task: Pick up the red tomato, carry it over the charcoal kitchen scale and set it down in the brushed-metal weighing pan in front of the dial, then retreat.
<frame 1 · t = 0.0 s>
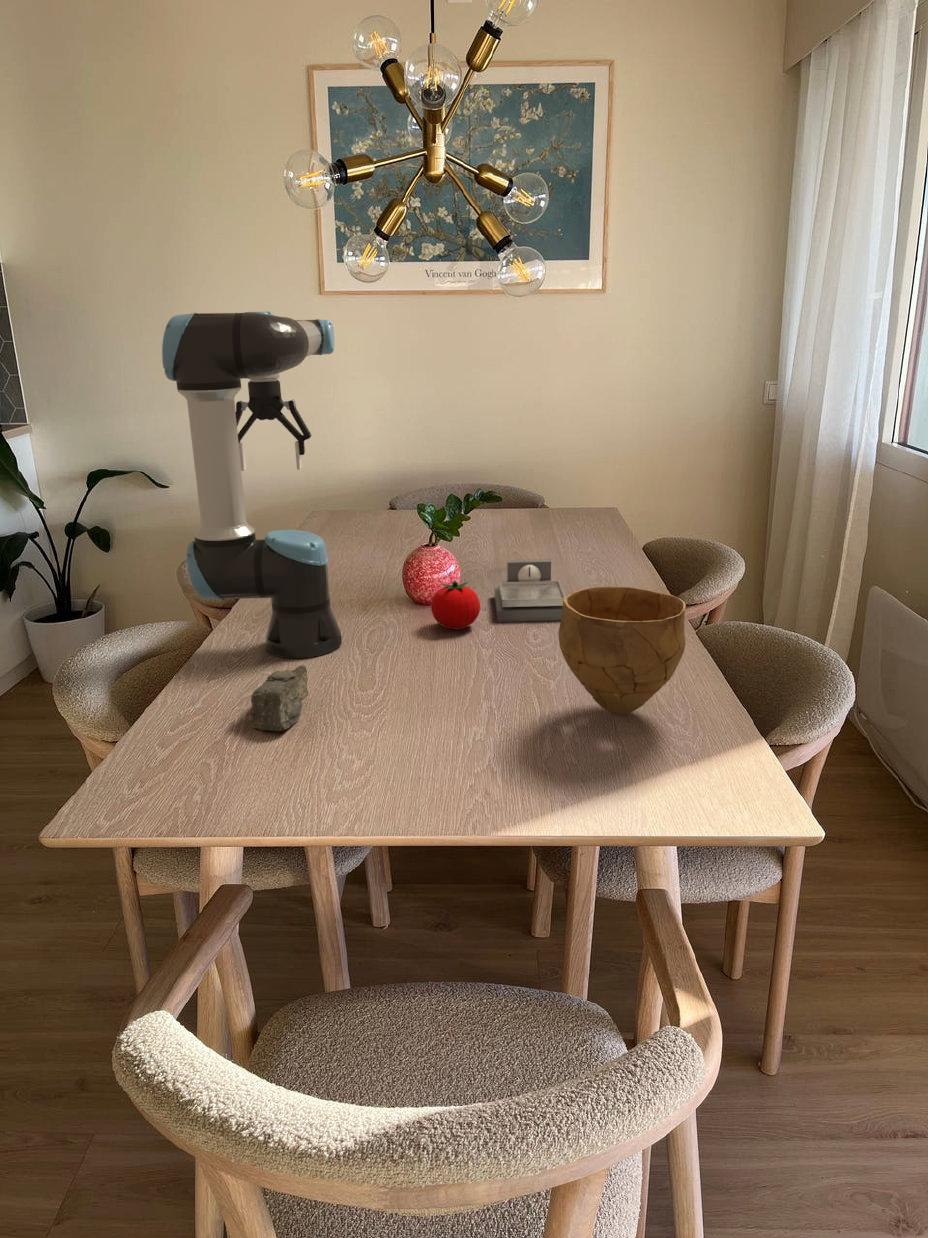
hand: (271, 469, 228), 28 cm above the table, fingers open, 13 cm apart
rock: (280, 717, 159), on the table
scale body: (531, 608, 211), on the table
bowl: (618, 715, 156), on the table
tomato: (456, 628, 199), on the table
pan: (531, 594, 208), point 4 cm above the table, slide at -0.4 cm
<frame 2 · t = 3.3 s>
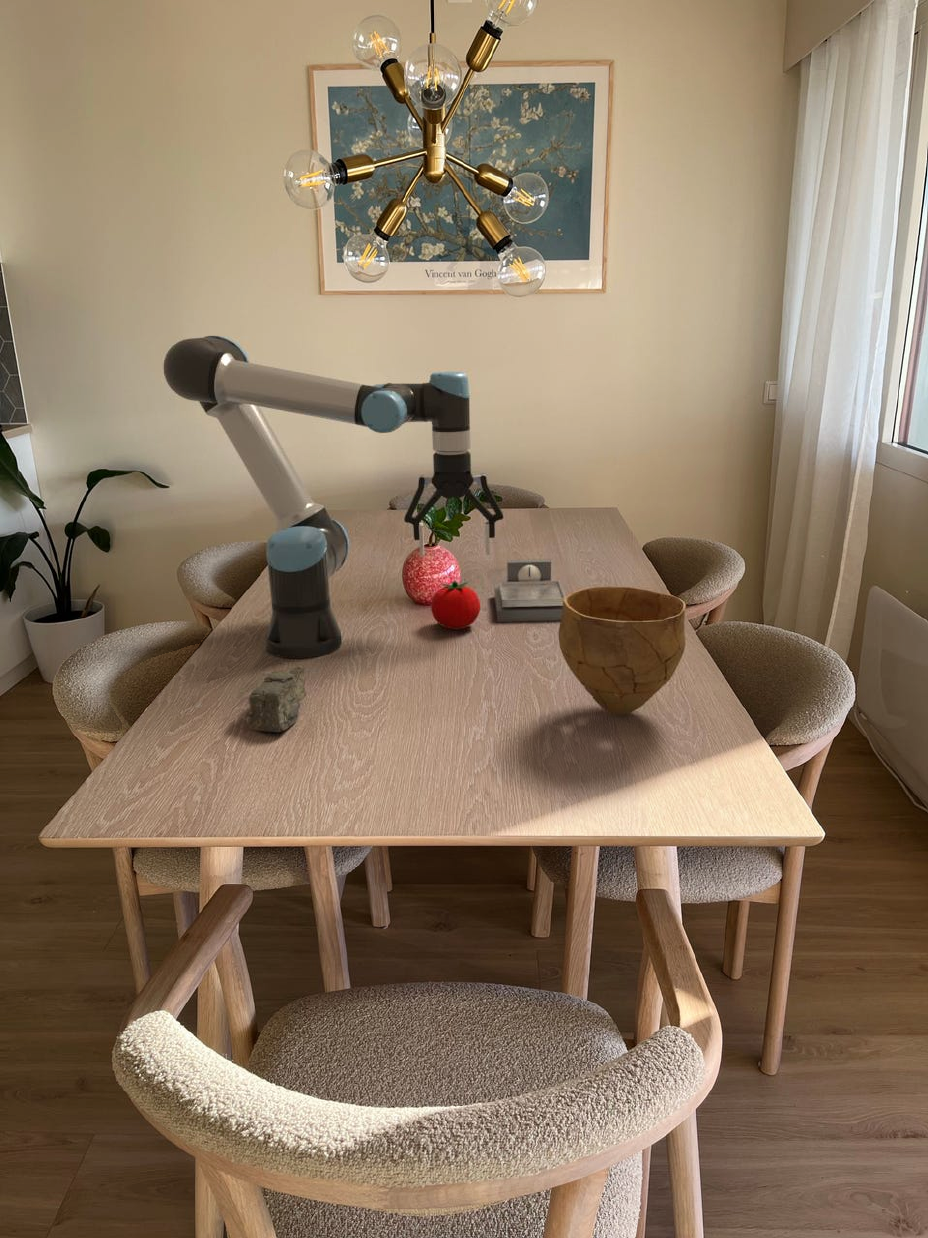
hand: (454, 554, 194), 16 cm above the table, fingers open, 13 cm apart
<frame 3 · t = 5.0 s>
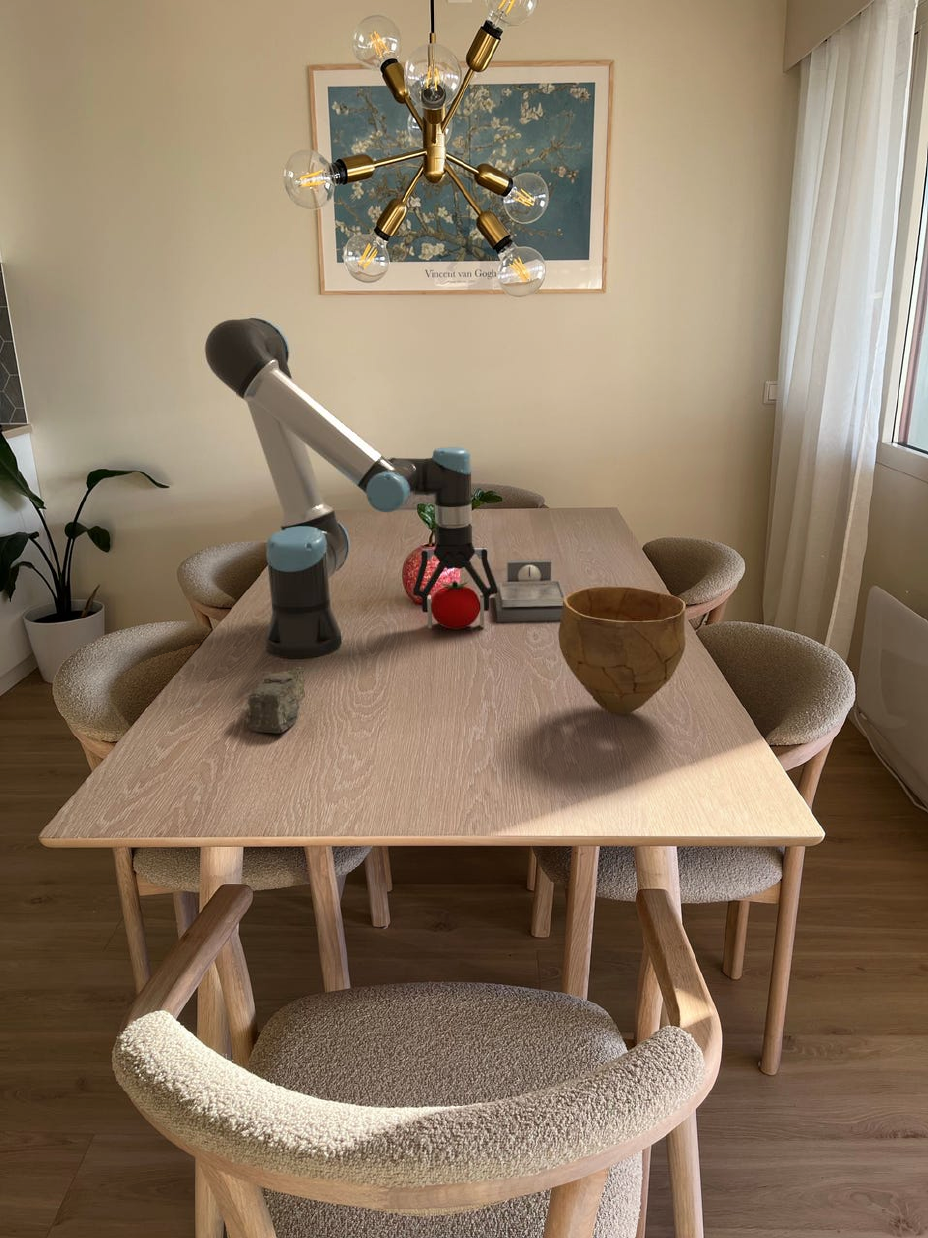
hand: (456, 625, 199), 0 cm above the table, fingers closed on tomato, 10 cm apart
tomato: (456, 628, 199), on the table, touching gripper
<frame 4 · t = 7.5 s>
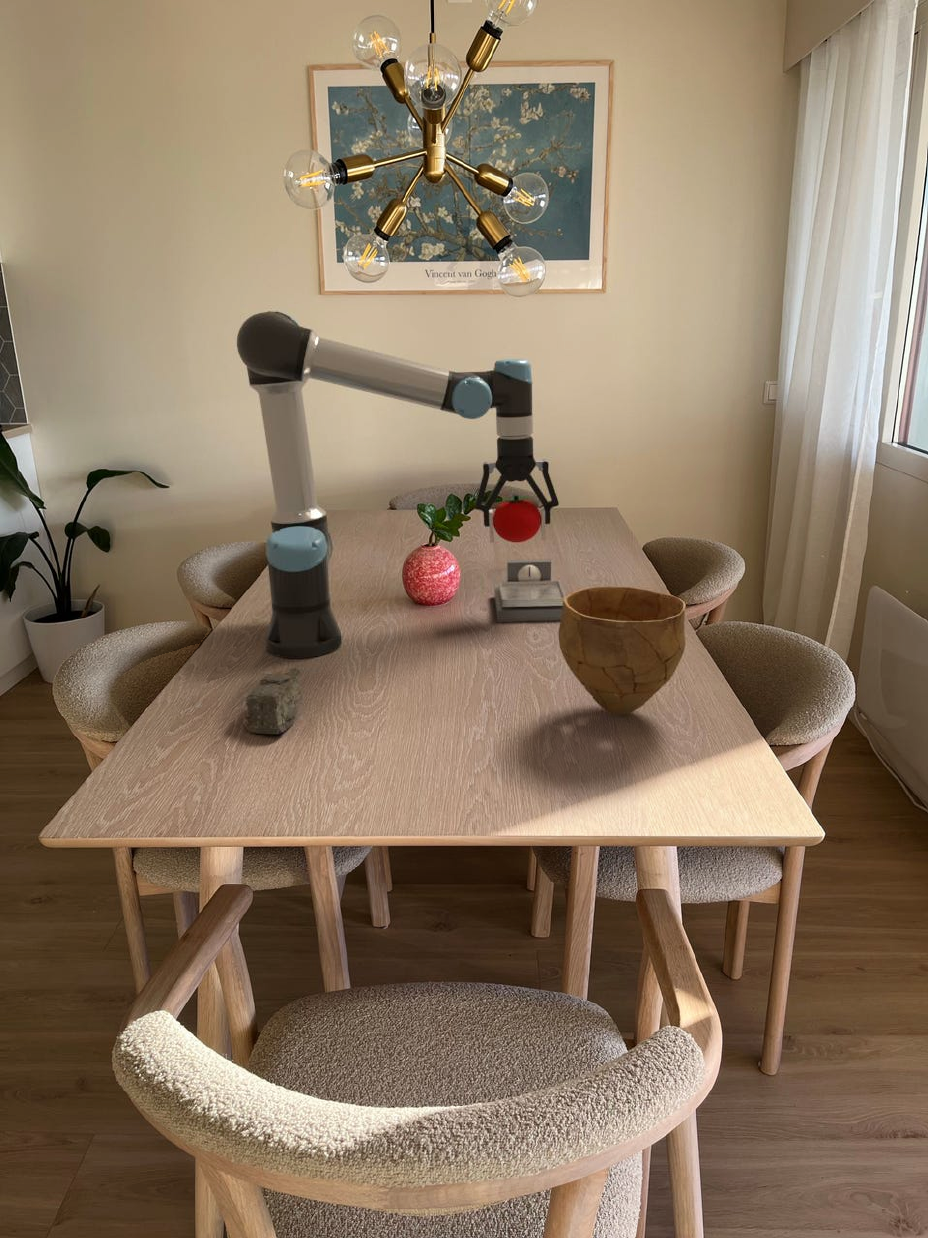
hand: (517, 539, 201), 17 cm above the table, fingers closed on tomato, 10 cm apart
tomato: (517, 542, 201), point 16 cm above the table, touching gripper
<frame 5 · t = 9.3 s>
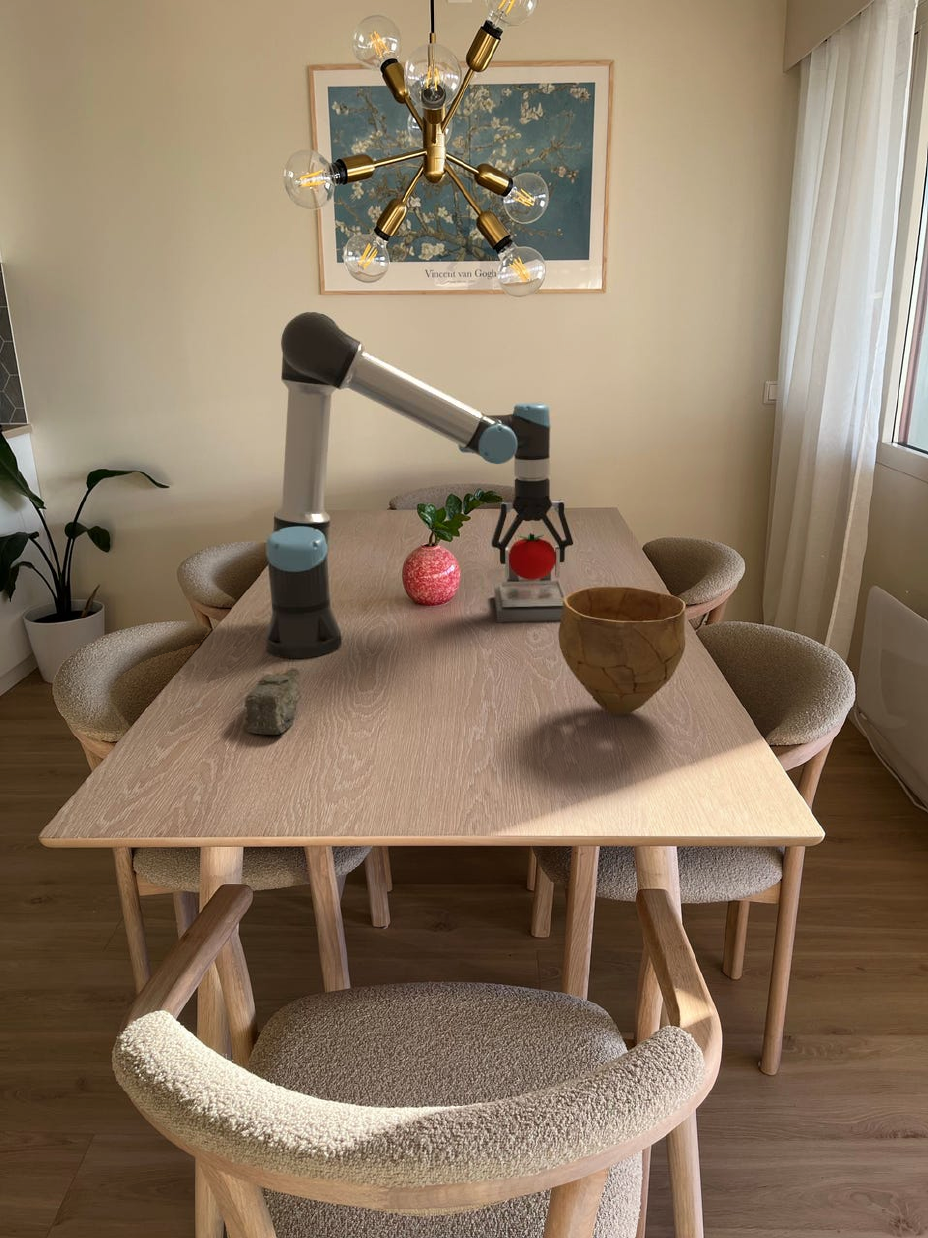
hand: (532, 577, 207), 8 cm above the table, fingers closed on tomato, 10 cm apart
tomato: (532, 579, 207), point 7 cm above the table, touching gripper
when the fingers open (7 cm above the table, at t = 10.1 s): tomato drops 2 cm, resting on pan.
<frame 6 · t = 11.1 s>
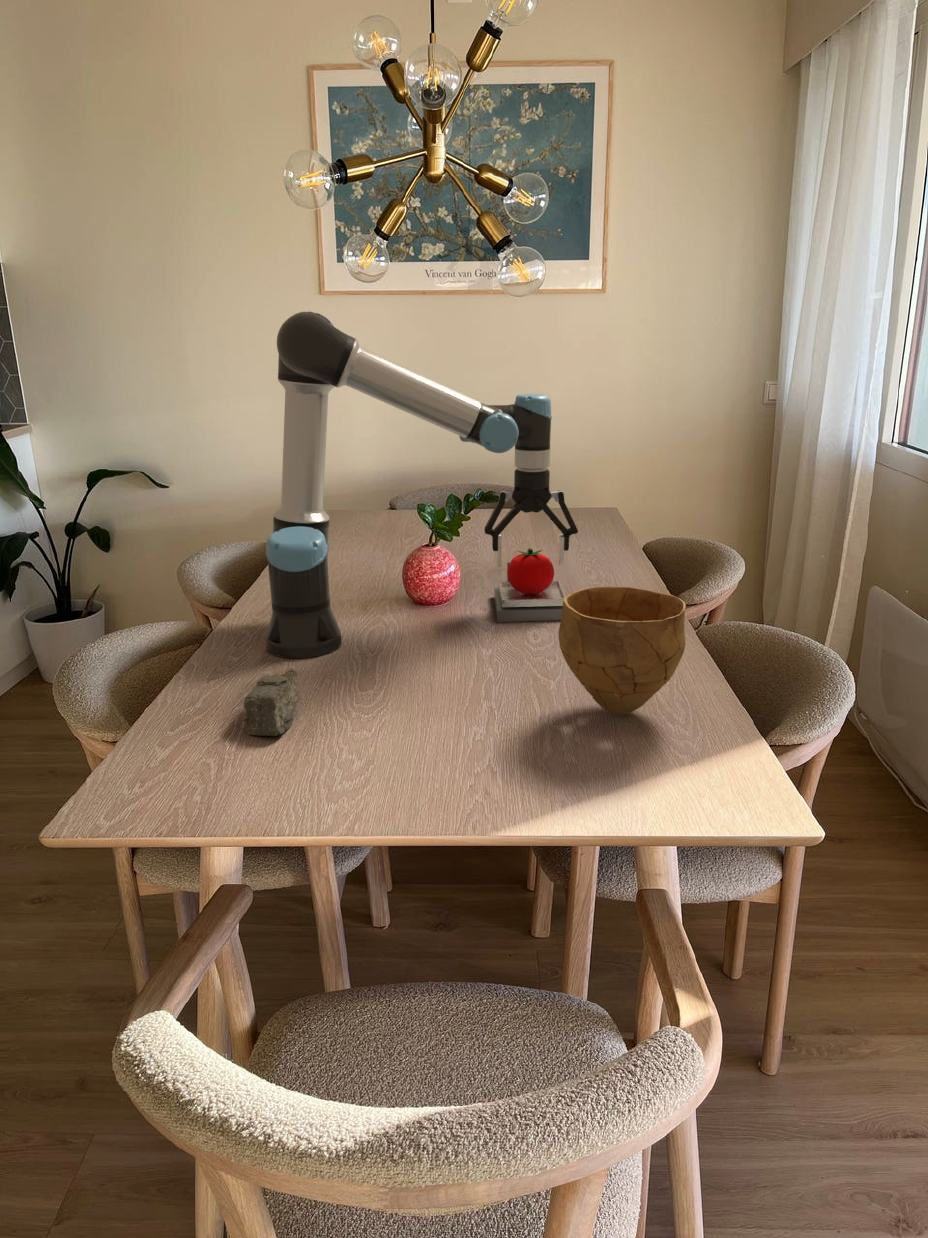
hand: (530, 565, 206), 10 cm above the table, fingers open, 13 cm apart
tomato: (530, 594, 208), point 4 cm above the table, touching pan
pan: (531, 594, 208), point 4 cm above the table, slide at -0.5 cm, touching tomato
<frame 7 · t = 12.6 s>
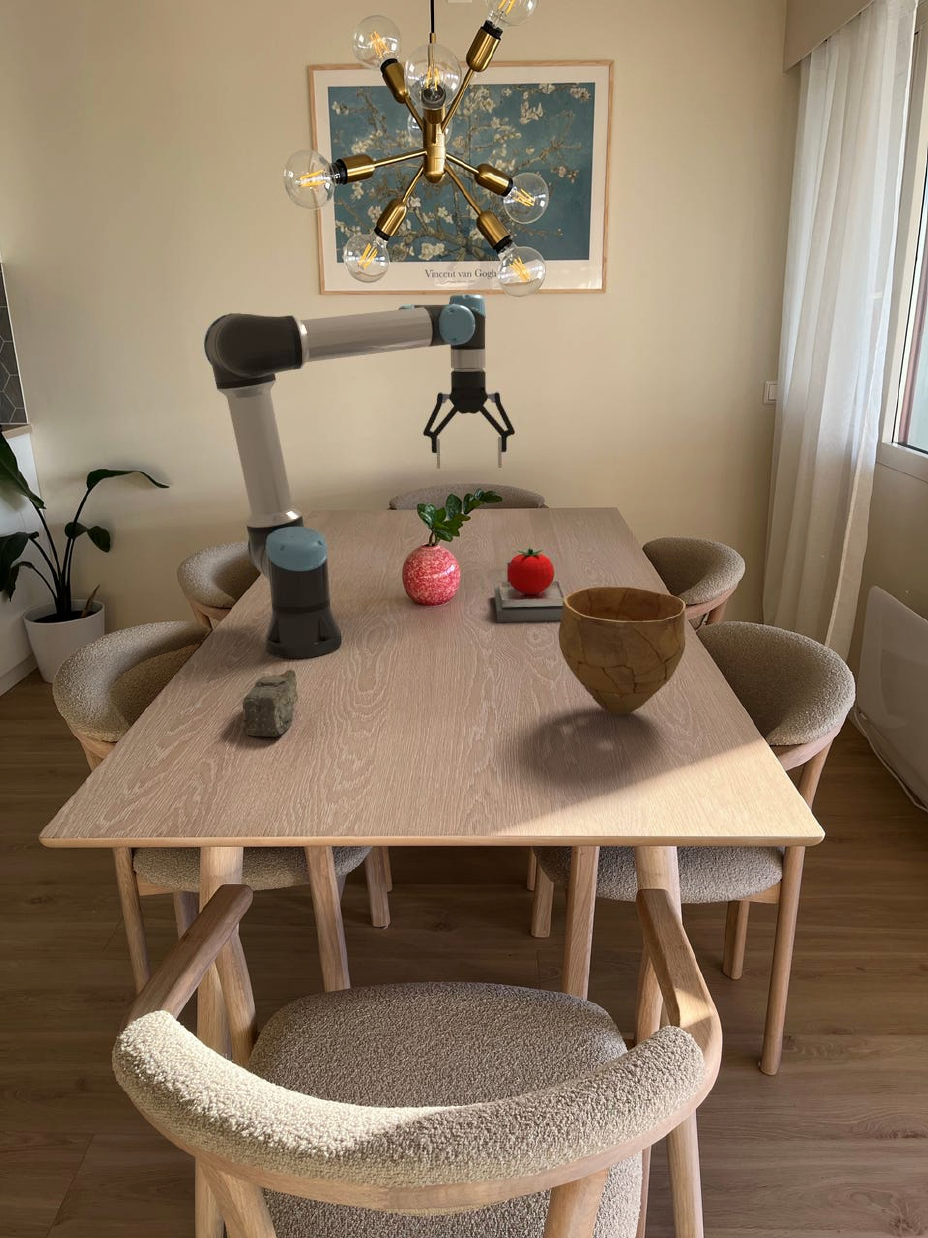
hand: (469, 467, 210), 30 cm above the table, fingers open, 13 cm apart
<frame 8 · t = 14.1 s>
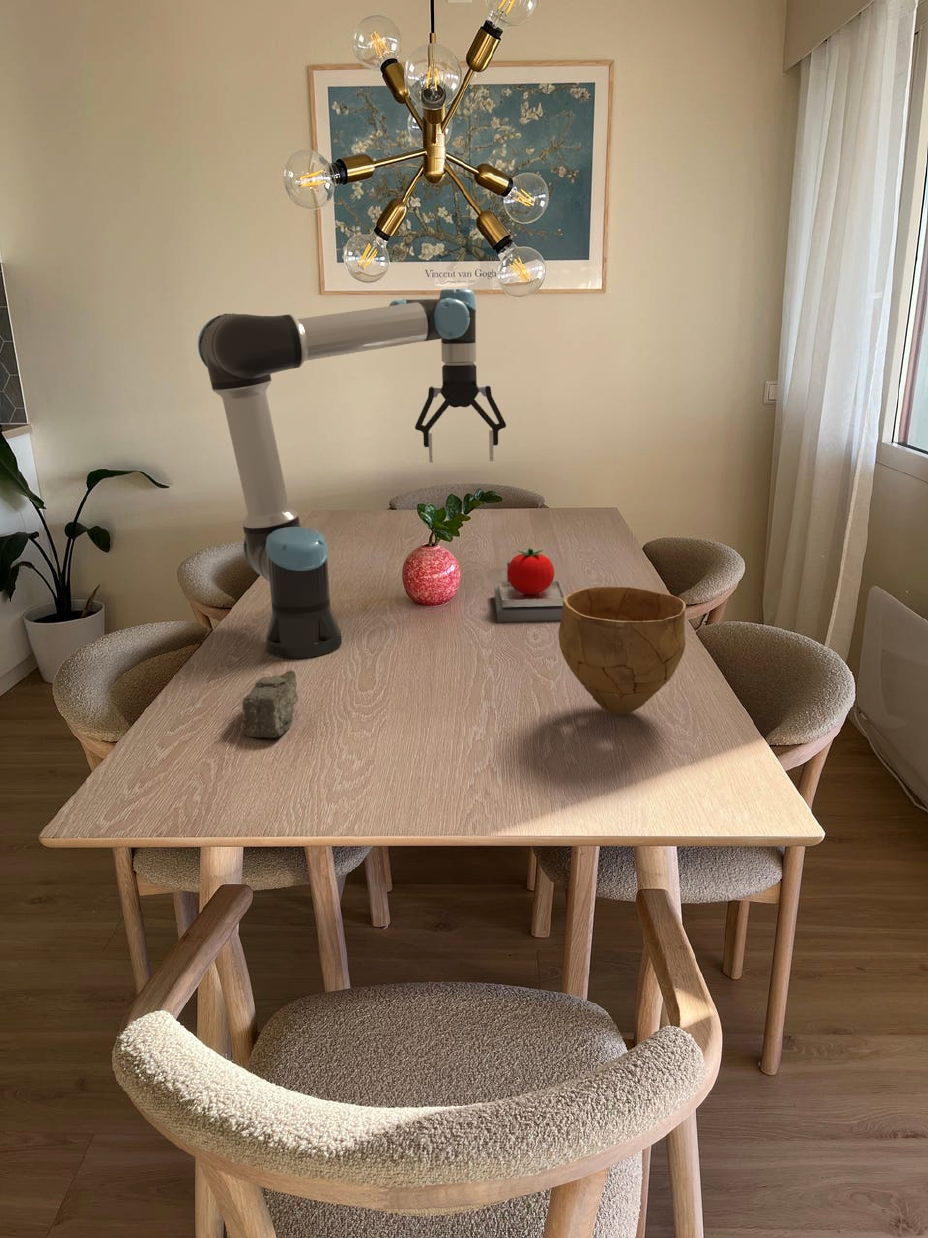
hand: (461, 461, 211), 32 cm above the table, fingers open, 13 cm apart
at the end: tomato inside the target area on the pan (0.3 cm from its centre), point 4.2 cm above the pan's base; the gripper is holding nothing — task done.
